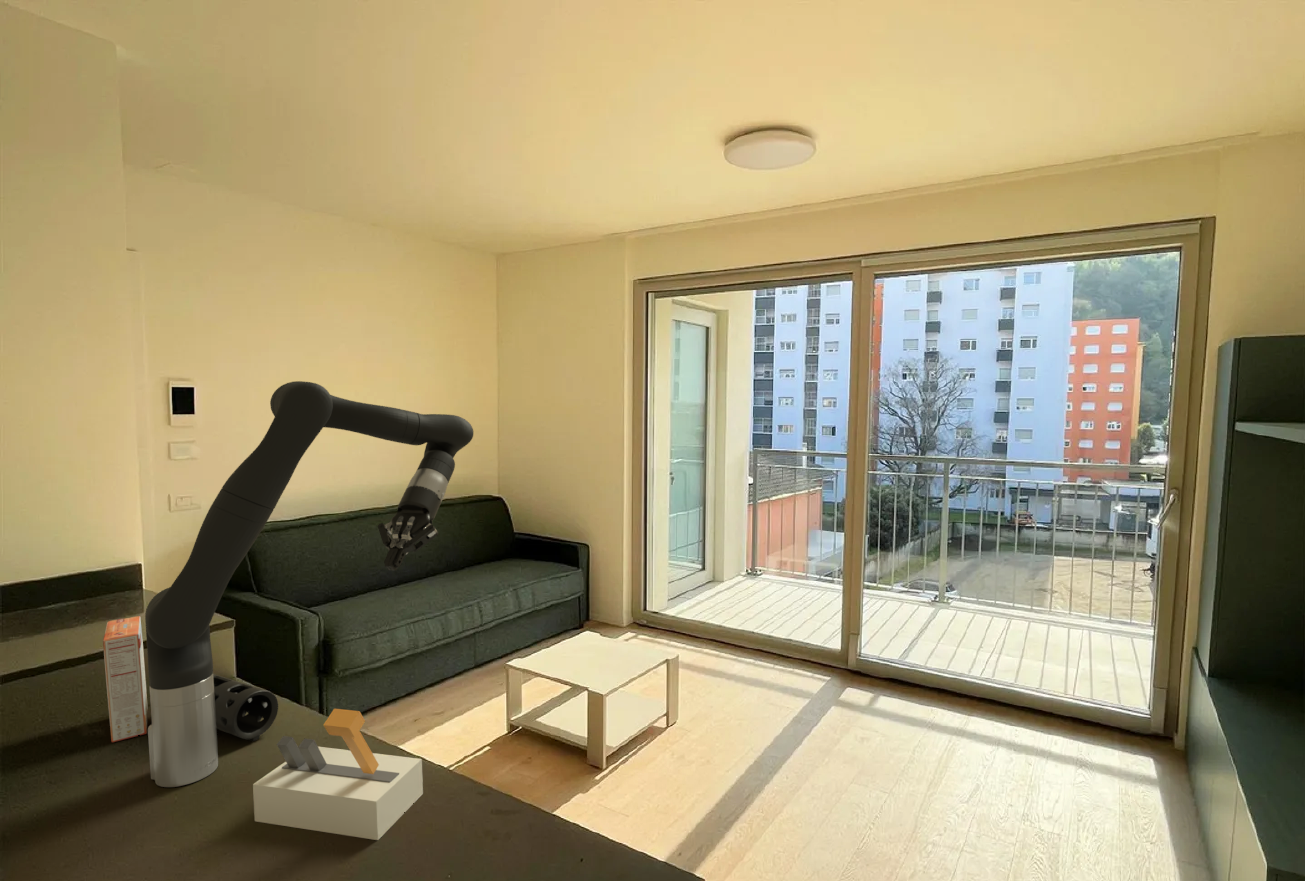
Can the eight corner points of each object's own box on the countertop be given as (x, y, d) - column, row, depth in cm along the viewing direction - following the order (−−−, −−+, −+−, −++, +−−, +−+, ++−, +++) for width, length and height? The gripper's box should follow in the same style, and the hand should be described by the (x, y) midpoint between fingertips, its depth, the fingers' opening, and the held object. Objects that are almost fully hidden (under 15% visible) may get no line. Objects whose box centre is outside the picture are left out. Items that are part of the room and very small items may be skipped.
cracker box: (112, 717, 140) (106, 620, 139) (148, 709, 144) (142, 614, 142) (108, 744, 129) (101, 639, 128) (147, 735, 132) (140, 632, 131)
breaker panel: (254, 821, 104) (251, 748, 103) (310, 778, 116) (307, 712, 115) (377, 840, 99) (374, 763, 99) (423, 793, 111) (420, 724, 110)
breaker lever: (354, 775, 105) (323, 724, 98) (363, 759, 107) (334, 708, 100) (378, 778, 104) (349, 727, 97) (388, 762, 106) (359, 711, 99)
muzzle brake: (232, 754, 125) (229, 700, 124) (153, 722, 138) (150, 673, 137) (281, 731, 133) (278, 681, 133) (202, 703, 146) (200, 657, 146)
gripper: (387, 483, 137) (350, 556, 125) (445, 484, 134) (412, 559, 122) (403, 505, 142) (369, 576, 131) (459, 506, 139) (429, 579, 128)
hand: (390, 568), depth 127 cm, fingers closed
